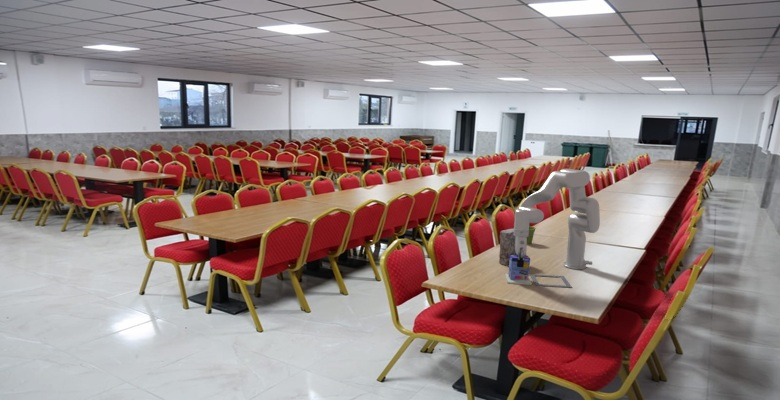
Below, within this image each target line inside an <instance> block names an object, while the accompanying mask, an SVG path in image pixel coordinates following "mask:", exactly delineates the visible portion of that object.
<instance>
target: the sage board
mask: <svg viewBox="0 0 780 400" xmlns="http://www.w3.org/2000/svg"><path fill="white" fill-rule="evenodd" d="M508 275H509V273H504V277H505V279H506V282H507V284H510V285H511V284H512V285H527V286H532V283H533V282H532V281H531V279H530V277H529V276H528V280H513V279H510V278H509V276H508Z"/></svg>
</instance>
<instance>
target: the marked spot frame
mask: <svg viewBox="0 0 780 400" xmlns="http://www.w3.org/2000/svg"><path fill="white" fill-rule="evenodd" d="M529 275H530V278H531V279H532V281H533V282H534V285H535V287H550V288H551V287H552V288H568V289H572V288H573V287H572V285H571V283H570V282H569V281H568V280H567V278H566V277H565V276H564V275H554V274H552V275H551V274H539V273H538V274H537V273H536V274H534V273H533V274H532V273H529ZM537 277H541V278H542V277H545V278H558V277H561V281H562V282H563V283H564V285H562V284H561V285H560V284H548V283H547V284H546V283H539V281H538V279H537Z"/></svg>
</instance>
